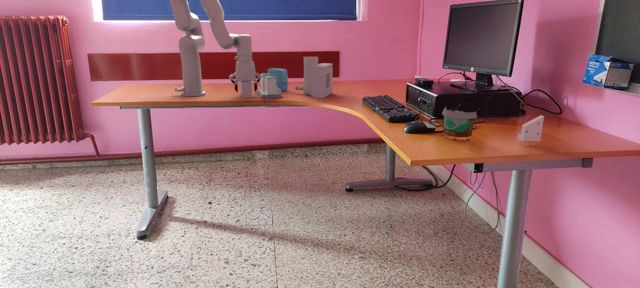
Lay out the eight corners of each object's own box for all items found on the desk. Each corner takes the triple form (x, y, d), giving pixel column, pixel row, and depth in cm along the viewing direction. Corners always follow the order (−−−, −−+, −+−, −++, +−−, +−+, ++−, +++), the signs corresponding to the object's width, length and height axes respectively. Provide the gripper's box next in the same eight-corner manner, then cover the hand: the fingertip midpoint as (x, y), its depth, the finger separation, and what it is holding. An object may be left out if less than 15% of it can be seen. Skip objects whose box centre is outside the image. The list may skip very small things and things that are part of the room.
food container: (433, 136, 154) (435, 109, 152) (442, 133, 159) (444, 106, 156) (465, 143, 146) (468, 114, 143) (474, 140, 150) (477, 111, 147)
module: (242, 97, 227) (241, 81, 225) (240, 95, 234) (240, 79, 232) (252, 97, 228) (251, 81, 226) (250, 94, 236) (249, 79, 233)
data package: (287, 90, 249) (287, 69, 246) (282, 91, 246) (281, 70, 243) (273, 88, 257) (273, 67, 254) (268, 89, 254) (267, 68, 250)
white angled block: (553, 138, 143) (543, 116, 141) (525, 153, 144) (515, 131, 142) (547, 135, 147) (538, 113, 145) (520, 150, 148) (510, 128, 146)
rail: (262, 98, 224) (261, 78, 221) (256, 92, 242) (256, 73, 239) (281, 97, 227) (281, 77, 224) (274, 91, 245) (274, 72, 242)
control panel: (323, 98, 227) (323, 59, 221) (290, 96, 232) (289, 57, 227) (332, 93, 241) (333, 56, 236) (301, 91, 247) (301, 55, 242)
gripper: (228, 60, 220) (230, 93, 225) (262, 59, 225) (263, 92, 230) (227, 58, 227) (229, 91, 232) (260, 58, 232) (261, 89, 236)
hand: (246, 91), depth 231 cm, fingers open, 9 cm apart
